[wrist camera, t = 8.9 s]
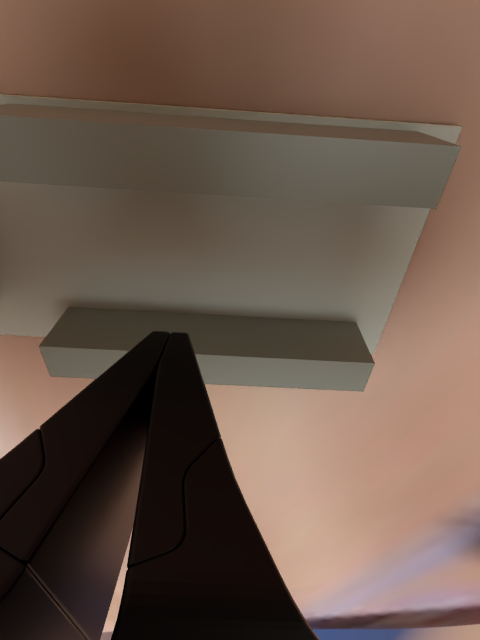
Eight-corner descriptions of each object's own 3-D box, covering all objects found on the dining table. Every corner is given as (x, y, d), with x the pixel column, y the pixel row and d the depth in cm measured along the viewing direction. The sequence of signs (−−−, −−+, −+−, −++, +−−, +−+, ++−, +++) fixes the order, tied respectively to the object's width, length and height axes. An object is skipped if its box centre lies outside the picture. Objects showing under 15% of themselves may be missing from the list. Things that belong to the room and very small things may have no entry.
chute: (457, 125, 10) (516, 140, 8) (371, 349, 16) (393, 396, 13) (-225, 78, 10) (-366, 80, 8) (-74, 326, 15) (-130, 371, 13)
